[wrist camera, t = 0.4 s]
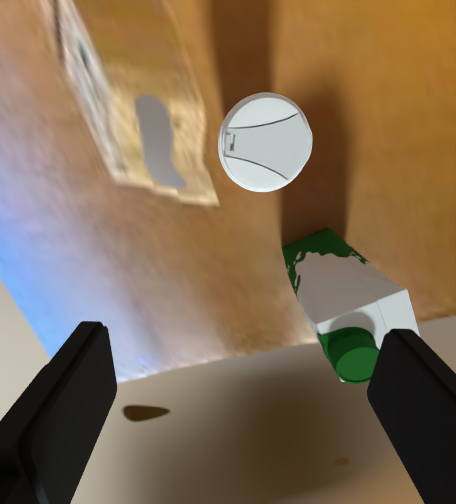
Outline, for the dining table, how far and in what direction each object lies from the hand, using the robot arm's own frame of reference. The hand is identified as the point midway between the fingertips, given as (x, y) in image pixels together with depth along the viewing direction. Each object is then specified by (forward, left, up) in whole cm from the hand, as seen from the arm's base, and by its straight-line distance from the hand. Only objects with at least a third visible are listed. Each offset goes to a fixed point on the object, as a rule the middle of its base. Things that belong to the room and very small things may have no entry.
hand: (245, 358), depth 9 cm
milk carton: (+7, +14, -30) cm, 34 cm away
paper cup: (-7, +2, -30) cm, 31 cm away
